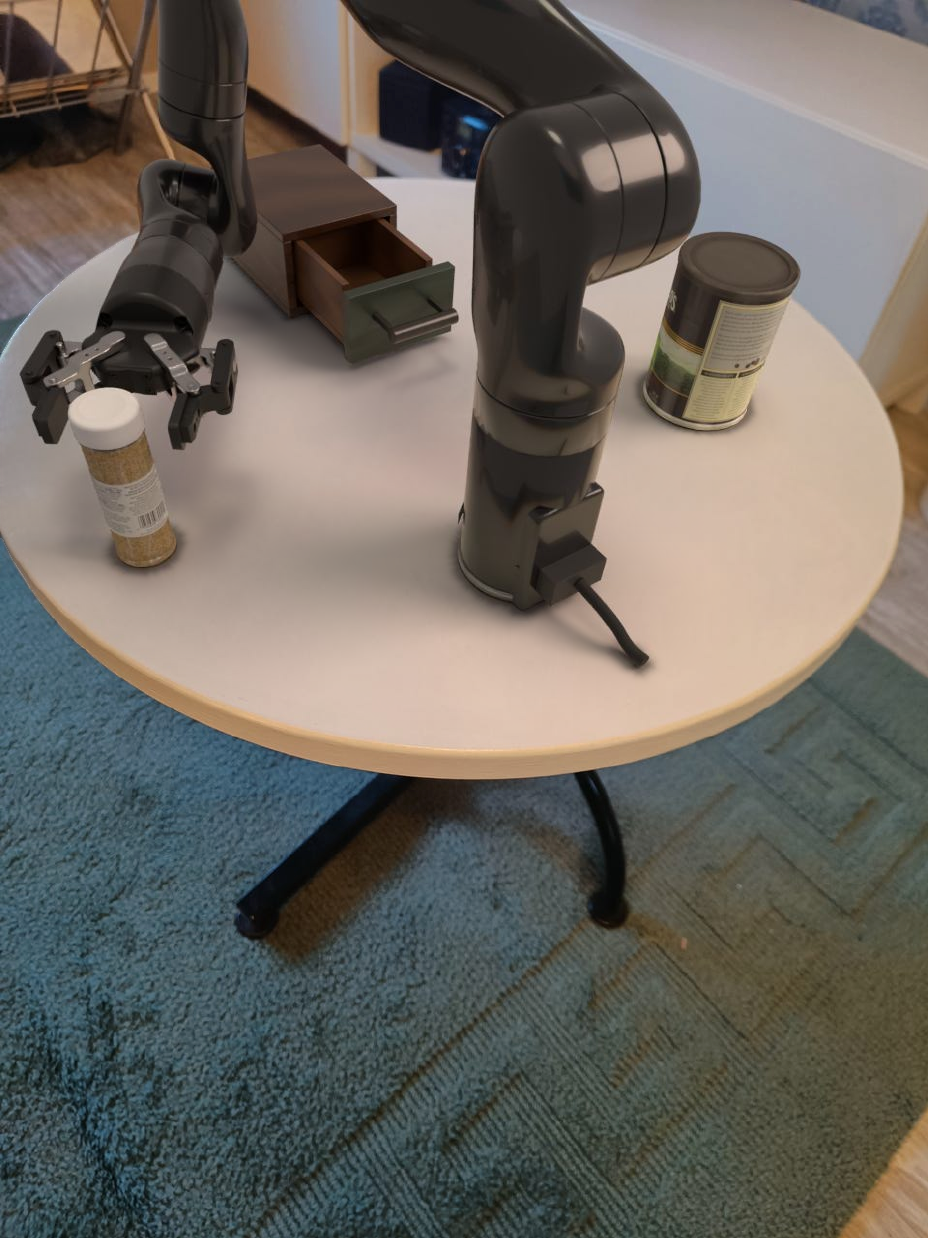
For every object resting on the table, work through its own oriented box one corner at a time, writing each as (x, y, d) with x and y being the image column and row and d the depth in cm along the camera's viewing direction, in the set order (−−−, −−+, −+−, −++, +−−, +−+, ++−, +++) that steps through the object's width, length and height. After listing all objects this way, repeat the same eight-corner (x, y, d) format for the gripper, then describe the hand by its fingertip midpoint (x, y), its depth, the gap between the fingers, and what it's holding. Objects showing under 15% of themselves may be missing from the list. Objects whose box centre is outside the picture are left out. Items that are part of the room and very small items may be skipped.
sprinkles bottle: (160, 519, 69) (120, 376, 59) (188, 553, 67) (151, 411, 57) (105, 543, 67) (54, 399, 57) (132, 579, 65) (84, 436, 55)
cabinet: (396, 286, 94) (397, 204, 87) (290, 318, 88) (282, 233, 82) (324, 222, 101) (319, 143, 95) (222, 248, 96) (210, 166, 89)
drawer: (475, 352, 85) (481, 287, 80) (374, 387, 80) (373, 321, 75) (375, 265, 94) (374, 201, 89) (279, 292, 90) (272, 226, 84)
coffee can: (627, 409, 82) (664, 269, 72) (660, 355, 89) (698, 219, 78) (732, 445, 80) (786, 305, 69) (759, 387, 86) (812, 251, 75)
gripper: (54, 256, 65) (-18, 385, 55) (245, 266, 66) (209, 395, 56) (81, 343, 71) (20, 475, 61) (257, 352, 72) (226, 483, 62)
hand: (111, 437), depth 58 cm, fingers open, 8 cm apart
